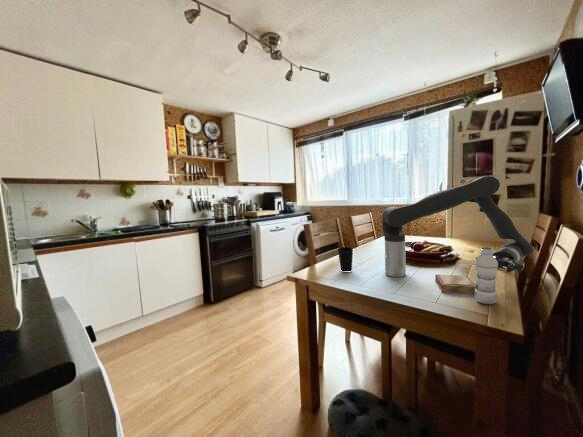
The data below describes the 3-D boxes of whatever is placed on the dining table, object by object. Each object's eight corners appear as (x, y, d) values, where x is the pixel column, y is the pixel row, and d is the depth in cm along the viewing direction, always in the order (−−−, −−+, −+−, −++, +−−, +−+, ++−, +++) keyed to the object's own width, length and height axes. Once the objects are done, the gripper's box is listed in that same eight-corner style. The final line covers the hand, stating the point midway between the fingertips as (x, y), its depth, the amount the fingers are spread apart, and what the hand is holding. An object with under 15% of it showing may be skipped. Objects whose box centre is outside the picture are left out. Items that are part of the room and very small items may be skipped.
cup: (354, 273, 129) (353, 250, 127) (338, 273, 131) (337, 251, 129) (353, 268, 136) (352, 247, 135) (339, 268, 138) (338, 247, 136)
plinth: (442, 292, 101) (442, 284, 101) (435, 281, 112) (435, 274, 112) (477, 294, 97) (477, 286, 97) (466, 282, 109) (466, 275, 108)
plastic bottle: (469, 299, 94) (470, 247, 91) (486, 297, 94) (487, 245, 92) (483, 307, 87) (485, 251, 85) (501, 305, 88) (503, 249, 85)
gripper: (485, 246, 109) (471, 254, 100) (529, 251, 98) (518, 261, 88) (484, 262, 110) (471, 272, 100) (528, 270, 99) (518, 281, 89)
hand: (493, 267), depth 94 cm, fingers open, 8 cm apart
